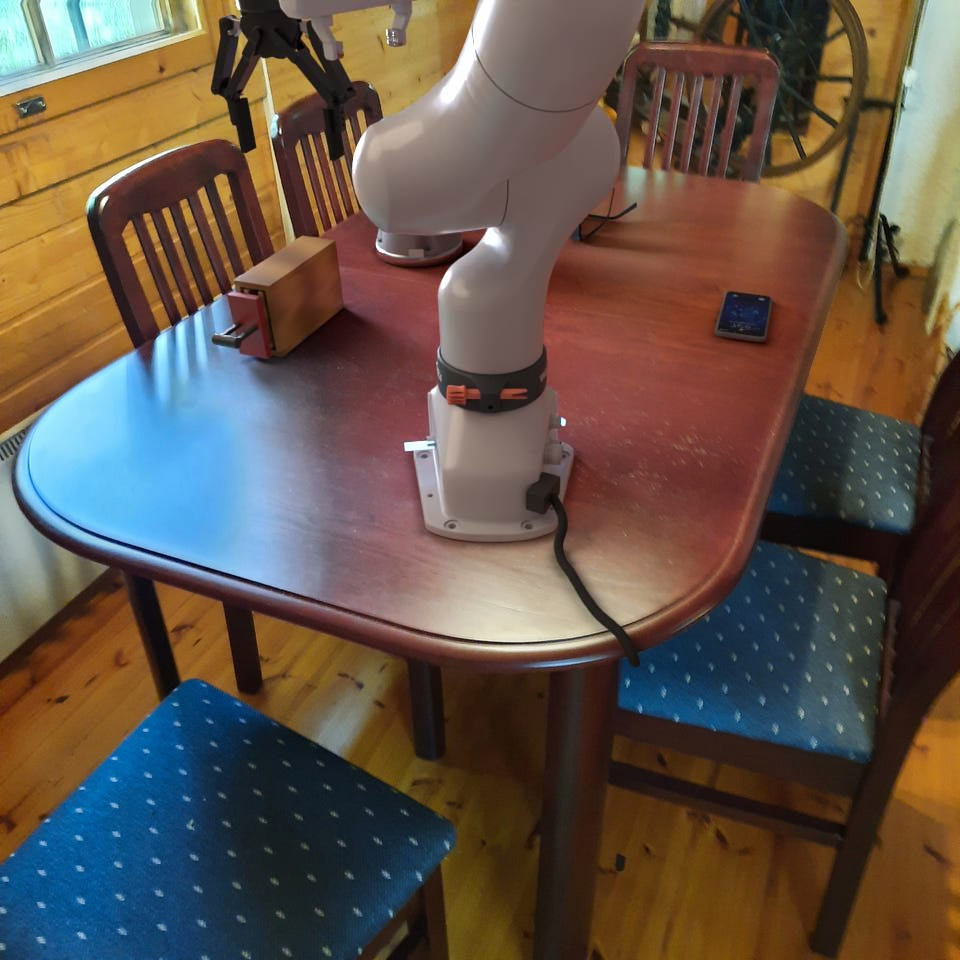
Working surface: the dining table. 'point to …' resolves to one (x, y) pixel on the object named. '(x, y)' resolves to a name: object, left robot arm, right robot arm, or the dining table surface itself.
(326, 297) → the cabinet
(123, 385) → the dining table surface
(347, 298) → the dining table surface
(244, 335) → the drawer
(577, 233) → the sunglasses
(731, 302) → the smartphone
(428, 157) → the right robot arm
